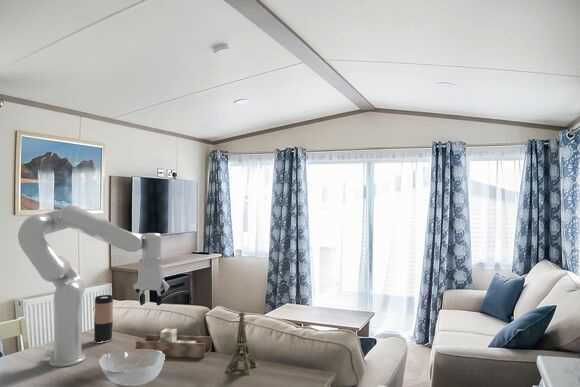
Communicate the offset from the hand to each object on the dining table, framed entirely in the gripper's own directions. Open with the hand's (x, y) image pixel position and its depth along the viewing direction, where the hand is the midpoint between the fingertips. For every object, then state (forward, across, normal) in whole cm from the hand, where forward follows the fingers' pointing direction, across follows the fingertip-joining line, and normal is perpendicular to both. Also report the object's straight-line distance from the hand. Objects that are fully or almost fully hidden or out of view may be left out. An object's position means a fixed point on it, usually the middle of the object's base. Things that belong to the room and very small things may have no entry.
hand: (150, 304), depth 172 cm
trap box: (+20, +10, 0) cm, 22 cm away
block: (+16, +8, 0) cm, 18 cm away
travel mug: (+20, -28, +11) cm, 36 cm away
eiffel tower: (+20, +42, -14) cm, 49 cm away
